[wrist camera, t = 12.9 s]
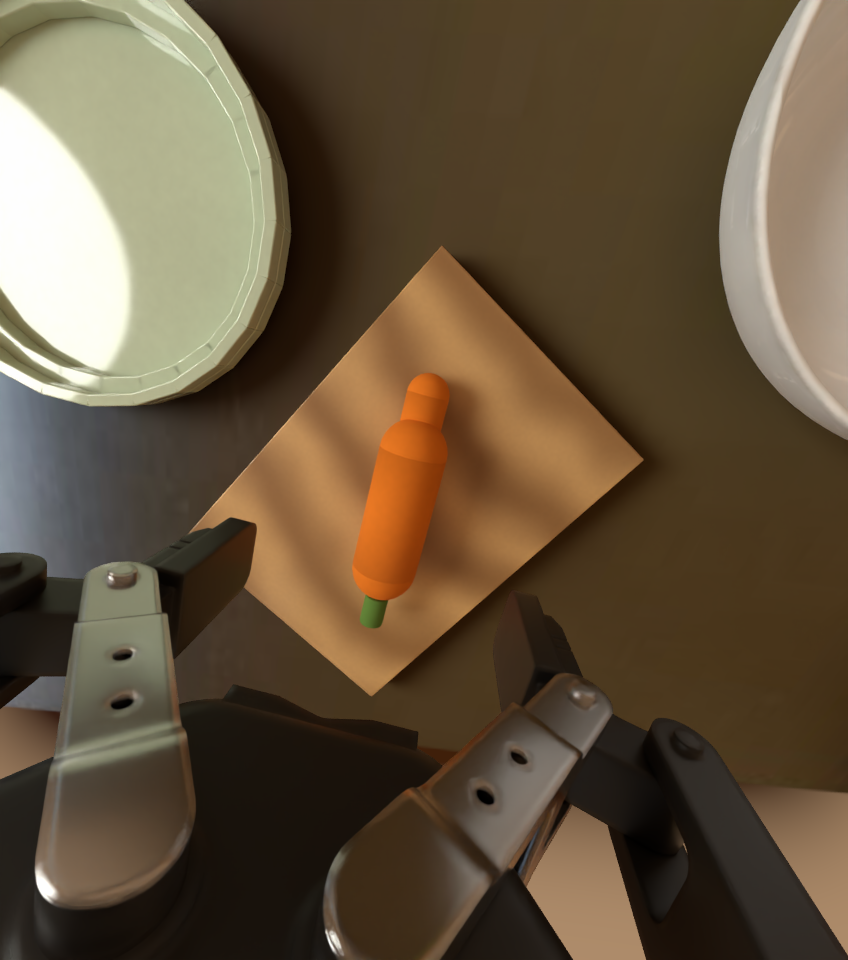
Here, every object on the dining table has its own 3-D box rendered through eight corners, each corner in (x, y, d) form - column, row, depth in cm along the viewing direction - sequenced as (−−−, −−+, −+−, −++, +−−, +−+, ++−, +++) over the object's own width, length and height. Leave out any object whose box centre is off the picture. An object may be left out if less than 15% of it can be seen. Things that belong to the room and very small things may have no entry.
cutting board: (442, 254, 21) (441, 244, 19) (632, 454, 22) (644, 460, 21) (200, 527, 25) (184, 537, 23) (375, 679, 27) (371, 697, 25)
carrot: (401, 365, 21) (394, 363, 18) (466, 382, 21) (470, 383, 18) (347, 598, 24) (333, 632, 21) (403, 612, 24) (397, 648, 21)
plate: (59, -119, 18) (2, -192, 16) (371, 207, 20) (361, 185, 18) (-125, 226, 22) (-192, 208, 20) (155, 470, 24) (124, 480, 22)
